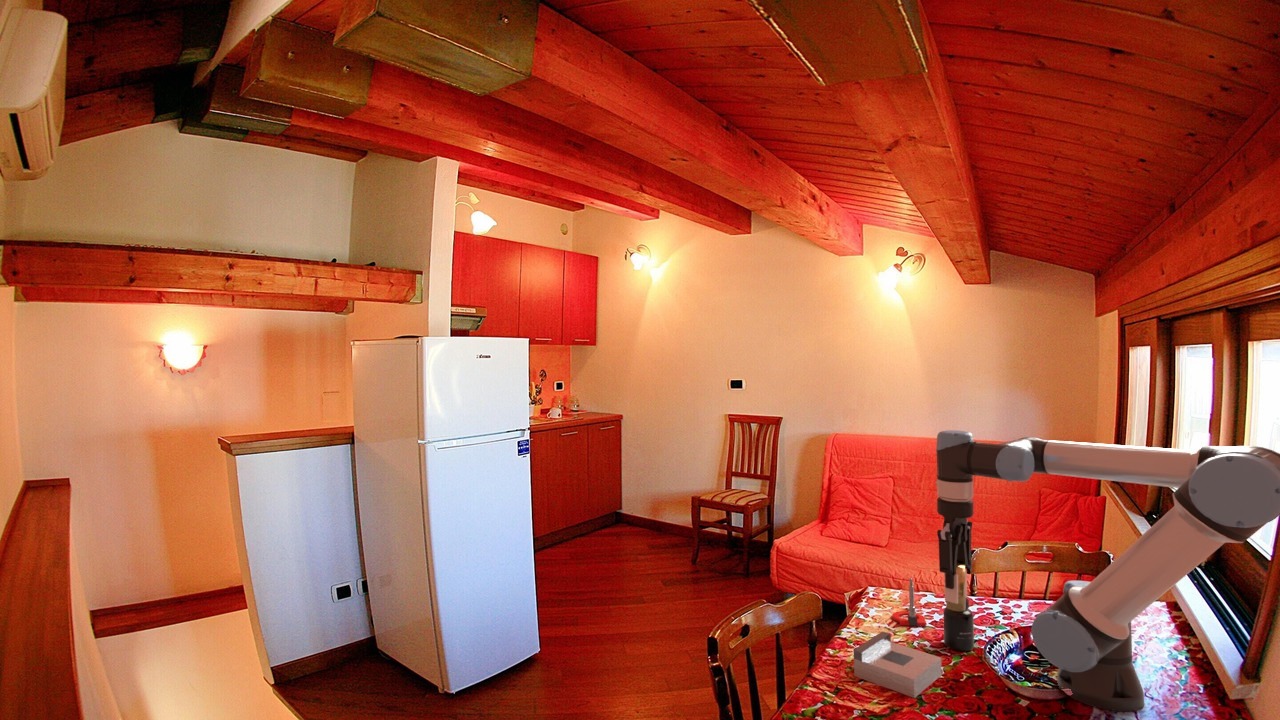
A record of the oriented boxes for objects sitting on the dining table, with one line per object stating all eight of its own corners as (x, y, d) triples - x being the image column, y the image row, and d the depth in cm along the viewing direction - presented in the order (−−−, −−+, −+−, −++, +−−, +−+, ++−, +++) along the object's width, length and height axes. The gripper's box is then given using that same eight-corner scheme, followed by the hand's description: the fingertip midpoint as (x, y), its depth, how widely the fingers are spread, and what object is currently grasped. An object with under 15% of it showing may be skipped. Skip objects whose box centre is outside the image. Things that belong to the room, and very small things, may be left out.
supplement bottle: (966, 654, 157) (965, 605, 157) (939, 645, 162) (937, 598, 162) (979, 646, 161) (977, 598, 161) (951, 637, 167) (950, 591, 167)
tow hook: (889, 614, 184) (897, 626, 174) (887, 569, 184) (895, 578, 175) (920, 615, 182) (929, 628, 173) (918, 569, 183) (928, 579, 174)
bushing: (968, 607, 148) (968, 564, 148) (961, 612, 146) (960, 569, 146) (950, 602, 151) (950, 560, 151) (943, 607, 149) (942, 564, 149)
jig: (941, 675, 147) (940, 648, 147) (914, 698, 138) (913, 670, 138) (883, 655, 158) (882, 631, 158) (854, 675, 148) (853, 649, 148)
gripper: (954, 489, 157) (955, 585, 157) (921, 501, 145) (922, 604, 146) (986, 494, 151) (987, 593, 151) (955, 507, 140) (956, 614, 140)
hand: (955, 598), depth 148 cm, fingers closed on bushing, 4 cm apart
